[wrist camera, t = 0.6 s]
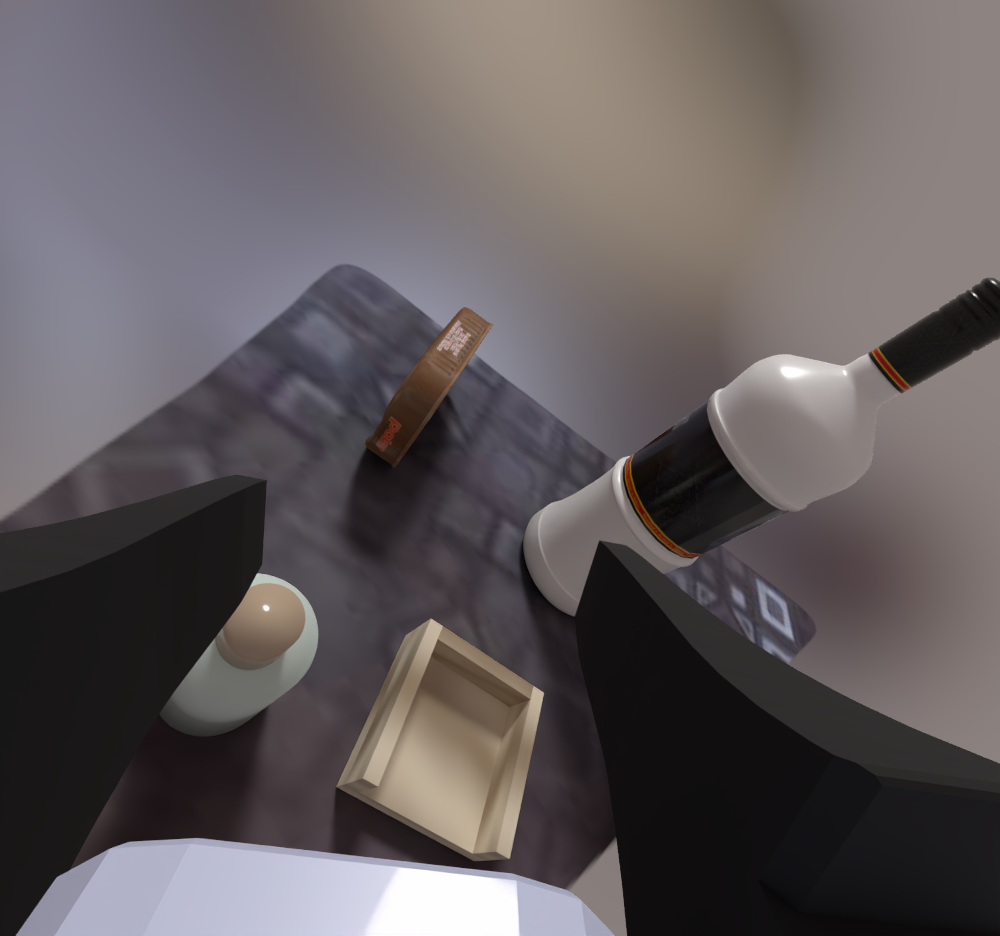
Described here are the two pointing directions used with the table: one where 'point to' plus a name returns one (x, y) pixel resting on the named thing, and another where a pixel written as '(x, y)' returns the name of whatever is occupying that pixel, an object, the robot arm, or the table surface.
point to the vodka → (749, 452)
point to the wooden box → (448, 744)
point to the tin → (427, 386)
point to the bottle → (247, 661)
